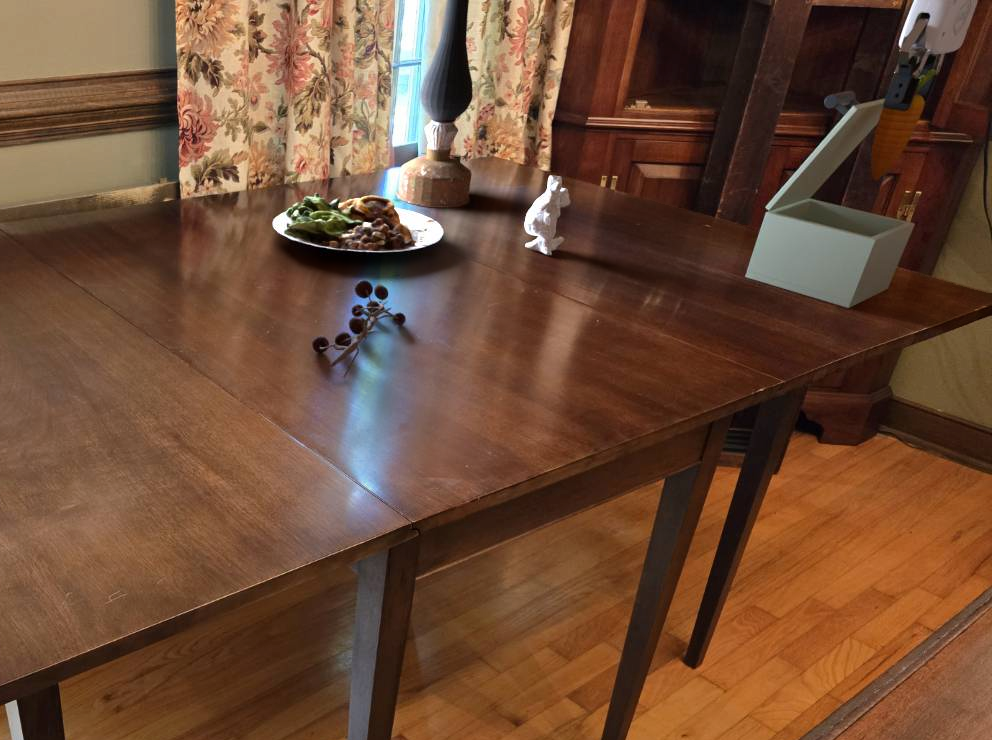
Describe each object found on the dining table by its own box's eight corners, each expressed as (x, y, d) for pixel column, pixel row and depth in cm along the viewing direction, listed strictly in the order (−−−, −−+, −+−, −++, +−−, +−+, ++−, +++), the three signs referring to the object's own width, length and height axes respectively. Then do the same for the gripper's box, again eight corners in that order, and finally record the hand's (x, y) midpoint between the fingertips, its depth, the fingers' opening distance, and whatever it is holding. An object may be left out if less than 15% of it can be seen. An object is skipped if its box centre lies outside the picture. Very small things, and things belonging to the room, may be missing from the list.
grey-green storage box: (887, 289, 148) (915, 223, 142) (848, 308, 140) (875, 240, 134) (786, 260, 157) (808, 198, 152) (744, 277, 150) (765, 212, 144)
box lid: (899, 99, 138) (869, 75, 140) (857, 109, 130) (827, 83, 132) (811, 196, 151) (785, 174, 153) (768, 210, 144) (741, 186, 145)
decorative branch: (377, 252, 132) (377, 282, 105) (406, 312, 135) (413, 356, 108) (305, 291, 135) (287, 330, 108) (335, 348, 138) (324, 401, 111)
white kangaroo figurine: (561, 259, 154) (578, 182, 147) (519, 254, 155) (533, 177, 148) (562, 243, 160) (577, 169, 153) (521, 239, 162) (535, 165, 155)
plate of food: (237, 236, 157) (237, 198, 154) (342, 204, 175) (345, 170, 171) (373, 280, 142) (377, 239, 139) (473, 241, 160) (479, 204, 156)
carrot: (900, 181, 137) (946, 65, 128) (886, 186, 134) (933, 68, 125) (864, 173, 140) (907, 59, 131) (850, 178, 137) (893, 62, 128)
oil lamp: (392, 221, 179) (382, -19, 152) (402, 186, 189) (395, -44, 162) (467, 220, 176) (471, -25, 148) (474, 184, 186) (479, -51, 159)
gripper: (971, -46, 114) (907, 118, 124) (1018, -47, 123) (956, 105, 134) (904, -50, 118) (849, 108, 129) (955, -52, 128) (899, 96, 138)
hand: (904, 105), depth 131 cm, fingers closed on carrot, 5 cm apart
